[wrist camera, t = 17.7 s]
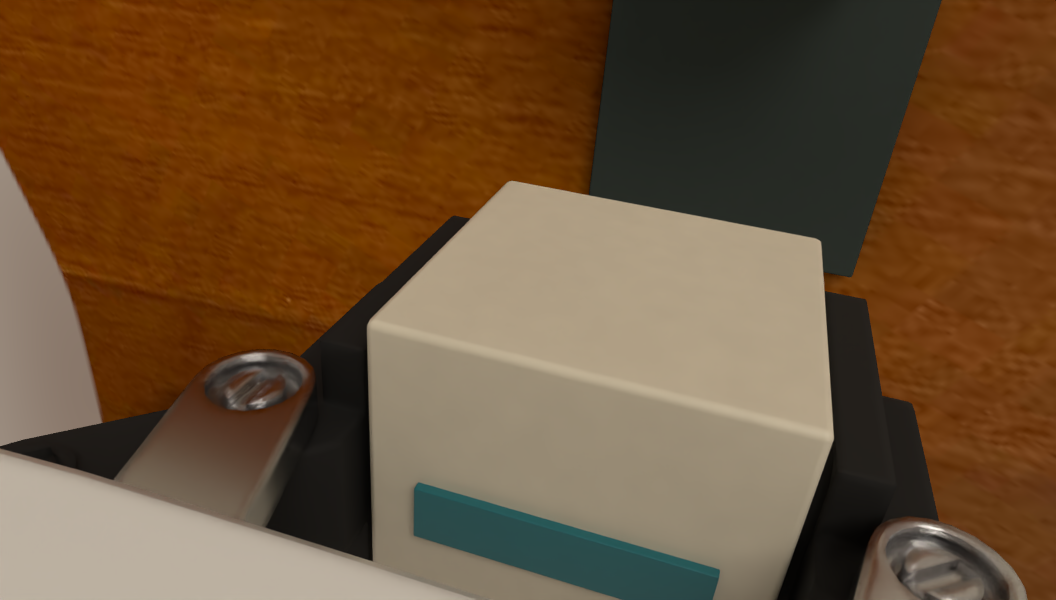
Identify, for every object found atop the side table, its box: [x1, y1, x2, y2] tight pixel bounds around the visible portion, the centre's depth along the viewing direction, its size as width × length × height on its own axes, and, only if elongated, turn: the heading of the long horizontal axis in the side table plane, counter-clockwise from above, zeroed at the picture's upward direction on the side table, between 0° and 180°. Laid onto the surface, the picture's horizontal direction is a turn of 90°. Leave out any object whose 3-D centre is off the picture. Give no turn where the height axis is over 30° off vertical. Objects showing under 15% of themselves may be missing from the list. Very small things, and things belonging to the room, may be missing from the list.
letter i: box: [367, 181, 834, 600], centre depth 10 cm, size 4×4×4 cm
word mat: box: [589, 0, 942, 277], centre depth 20 cm, size 14×8×1 cm, turn 175°
